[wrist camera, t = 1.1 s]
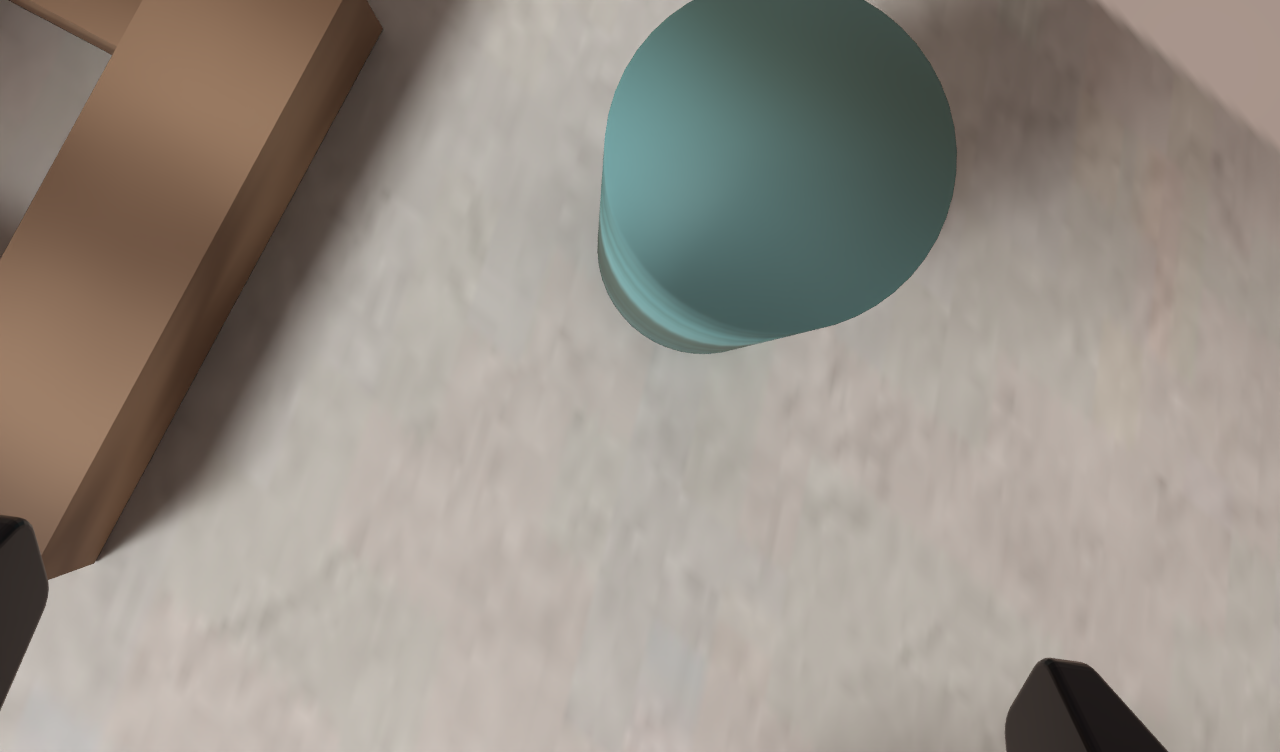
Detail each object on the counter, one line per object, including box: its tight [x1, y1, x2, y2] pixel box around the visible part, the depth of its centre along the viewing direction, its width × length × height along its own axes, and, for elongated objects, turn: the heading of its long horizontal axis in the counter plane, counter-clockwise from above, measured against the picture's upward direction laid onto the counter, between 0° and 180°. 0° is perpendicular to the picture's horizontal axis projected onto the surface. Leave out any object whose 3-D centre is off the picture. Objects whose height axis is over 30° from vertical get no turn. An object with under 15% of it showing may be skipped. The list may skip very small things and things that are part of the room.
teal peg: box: [598, 0, 957, 354], centre depth 20 cm, size 5×5×10 cm
